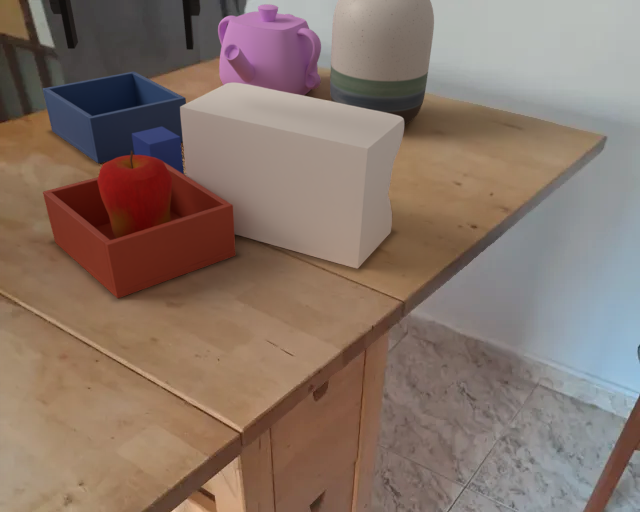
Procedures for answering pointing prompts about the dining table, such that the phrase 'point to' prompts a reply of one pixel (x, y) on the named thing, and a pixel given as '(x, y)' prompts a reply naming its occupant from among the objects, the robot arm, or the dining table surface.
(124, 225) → the apple
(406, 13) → the vase
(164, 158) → the block
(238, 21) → the teapot
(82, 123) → the blue bin
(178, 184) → the red bin
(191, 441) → the dining table surface
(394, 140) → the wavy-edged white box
